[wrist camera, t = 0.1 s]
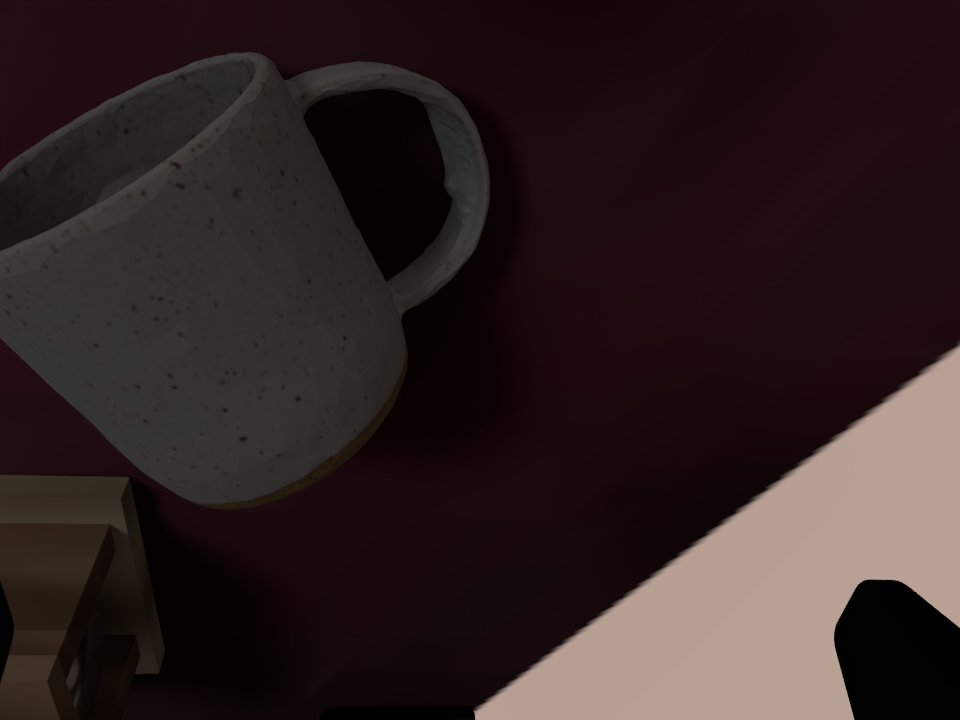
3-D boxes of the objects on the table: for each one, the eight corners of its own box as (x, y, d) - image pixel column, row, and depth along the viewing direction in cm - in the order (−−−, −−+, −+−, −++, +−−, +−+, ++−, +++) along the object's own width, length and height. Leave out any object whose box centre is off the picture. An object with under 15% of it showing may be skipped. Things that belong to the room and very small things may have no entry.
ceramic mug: (203, 386, 25) (141, 591, 19) (9, 147, 20) (-162, 311, 14) (531, 245, 23) (584, 419, 17) (398, -51, 19) (402, 36, 12)
